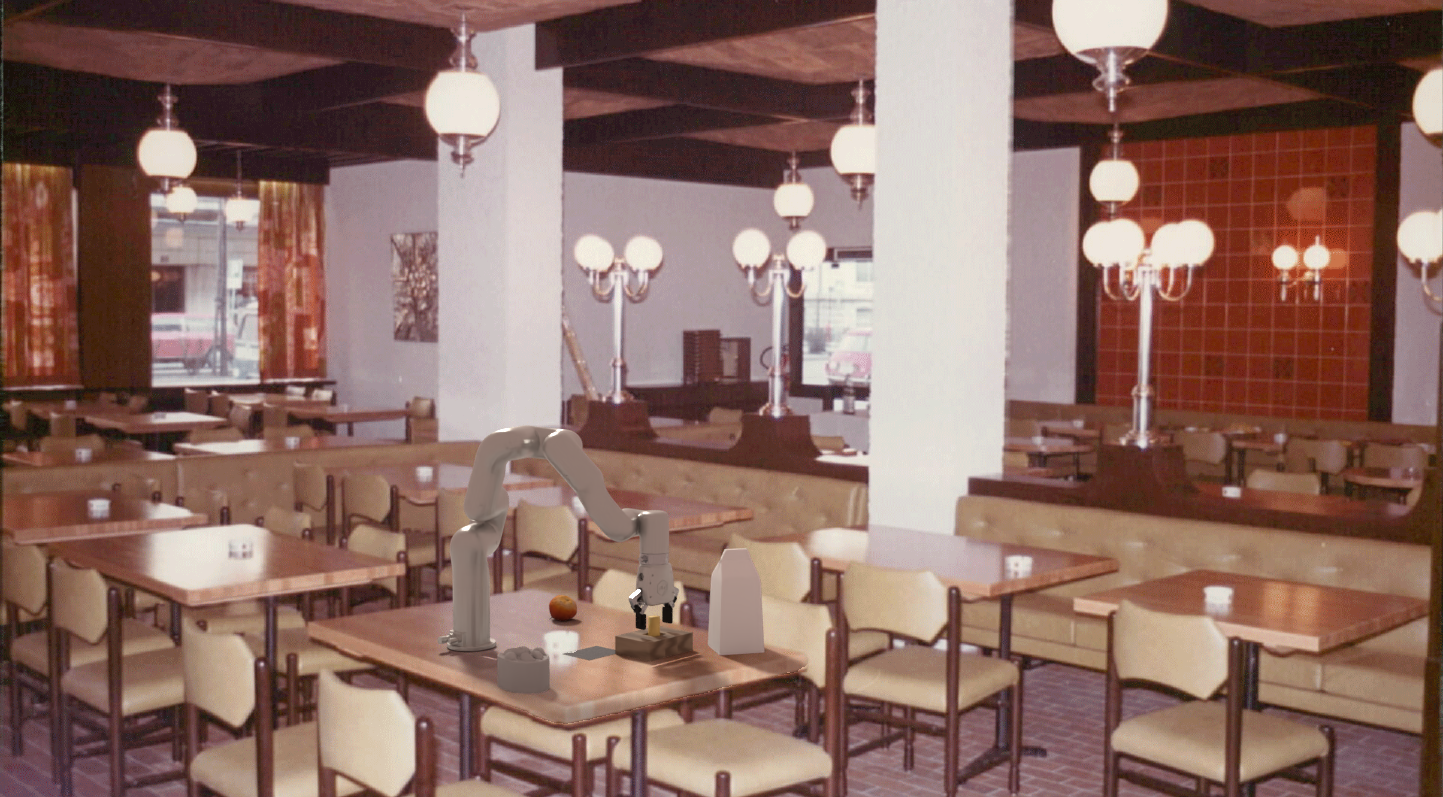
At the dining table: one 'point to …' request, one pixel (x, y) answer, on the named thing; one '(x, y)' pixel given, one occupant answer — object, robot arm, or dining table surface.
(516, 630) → the dining table surface
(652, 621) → the peg
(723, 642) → the milk
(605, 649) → the mat
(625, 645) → the hole block
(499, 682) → the lumpy-topped squat cylinder
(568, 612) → the fruit
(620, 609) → the dining table surface
